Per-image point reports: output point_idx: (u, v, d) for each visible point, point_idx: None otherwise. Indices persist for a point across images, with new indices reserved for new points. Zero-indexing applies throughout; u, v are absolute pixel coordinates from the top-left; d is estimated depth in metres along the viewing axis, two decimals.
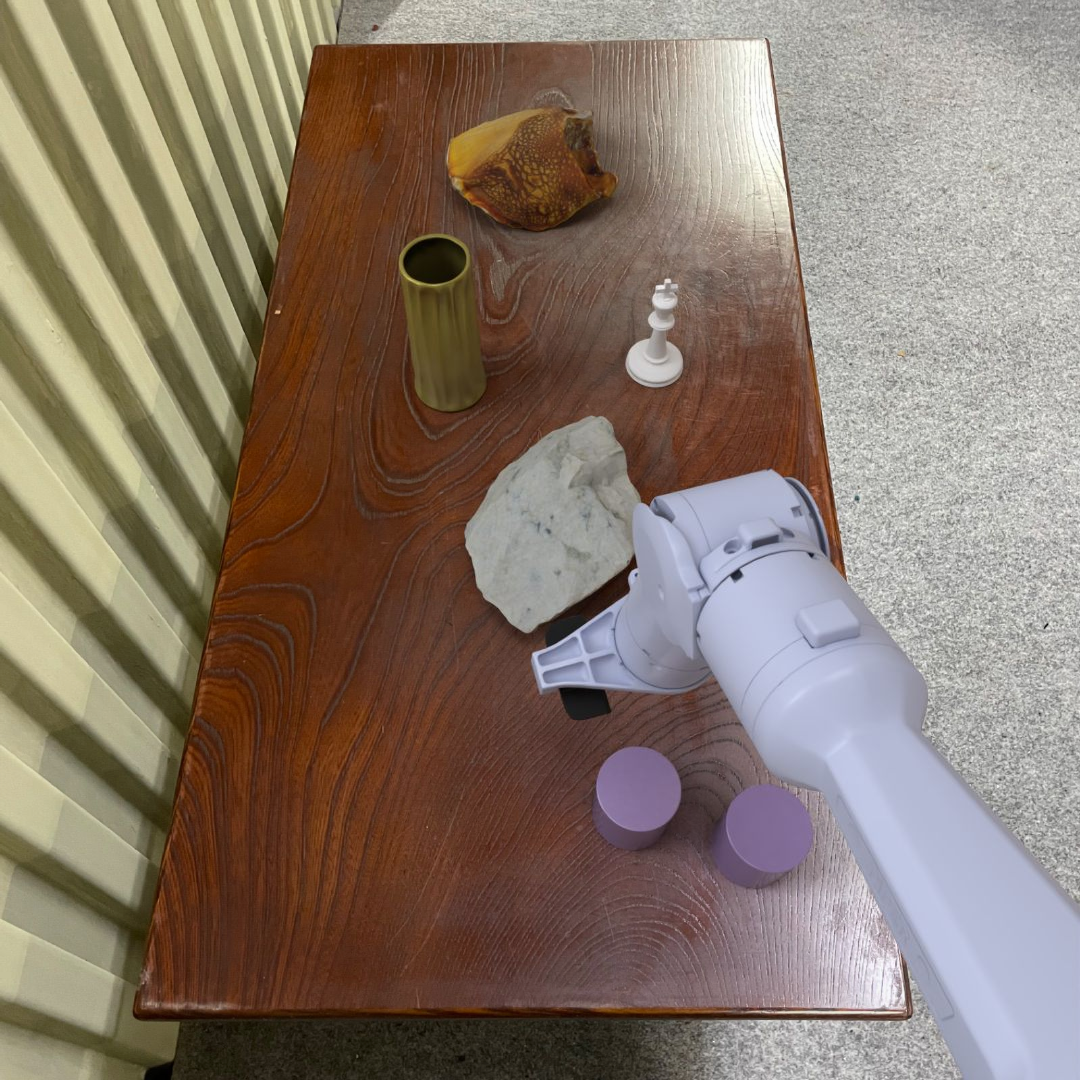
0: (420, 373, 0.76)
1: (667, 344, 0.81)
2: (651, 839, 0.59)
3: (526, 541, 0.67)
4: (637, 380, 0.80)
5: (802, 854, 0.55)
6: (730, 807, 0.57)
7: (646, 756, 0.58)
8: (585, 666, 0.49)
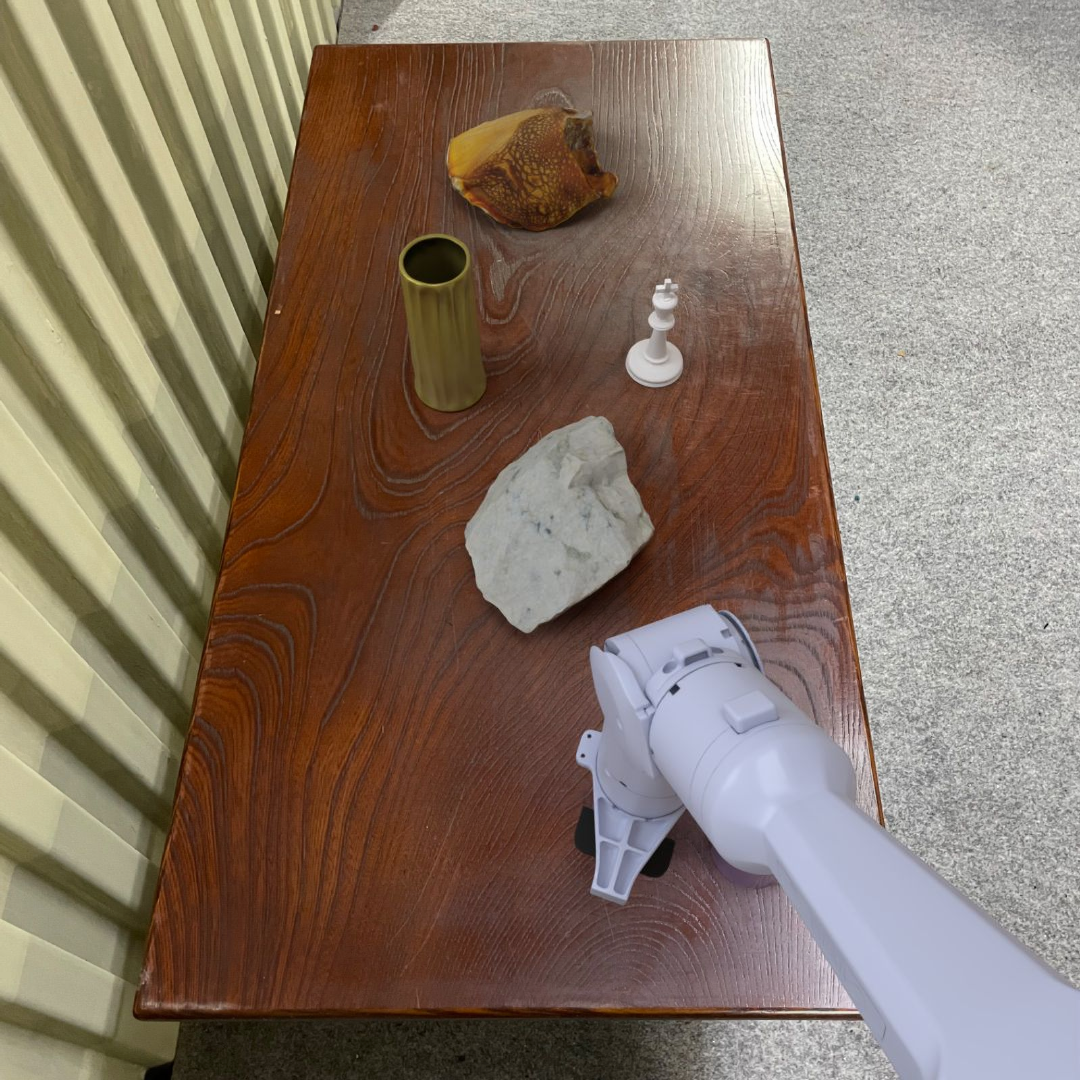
0: (420, 373, 0.76)
1: (667, 344, 0.81)
2: None
3: (526, 541, 0.67)
4: (637, 380, 0.80)
5: None
6: None
7: None
8: (630, 851, 0.51)
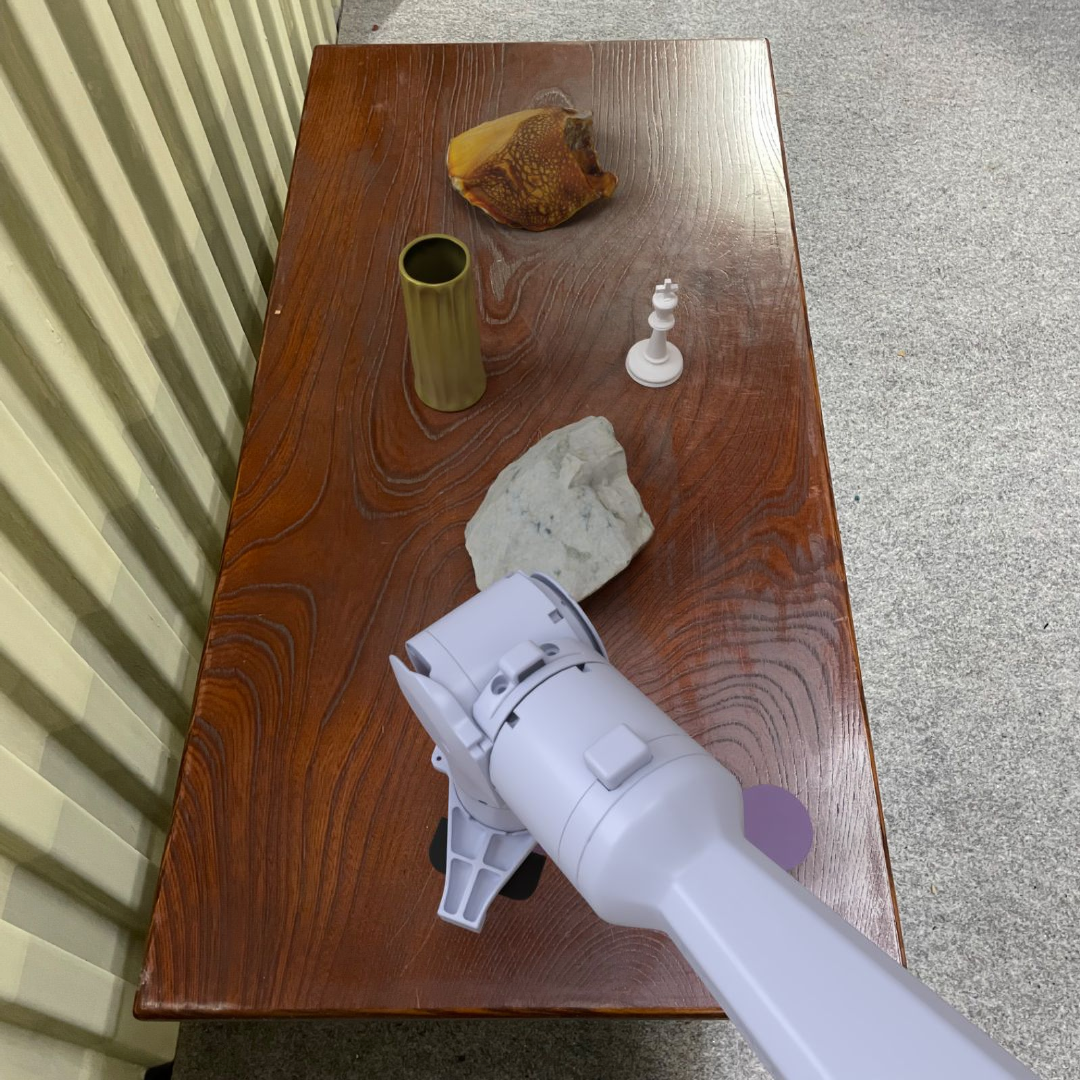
0: (420, 373, 0.76)
1: (667, 344, 0.81)
2: None
3: (526, 541, 0.67)
4: (637, 380, 0.80)
5: (802, 854, 0.55)
6: None
7: None
8: (485, 870, 0.44)
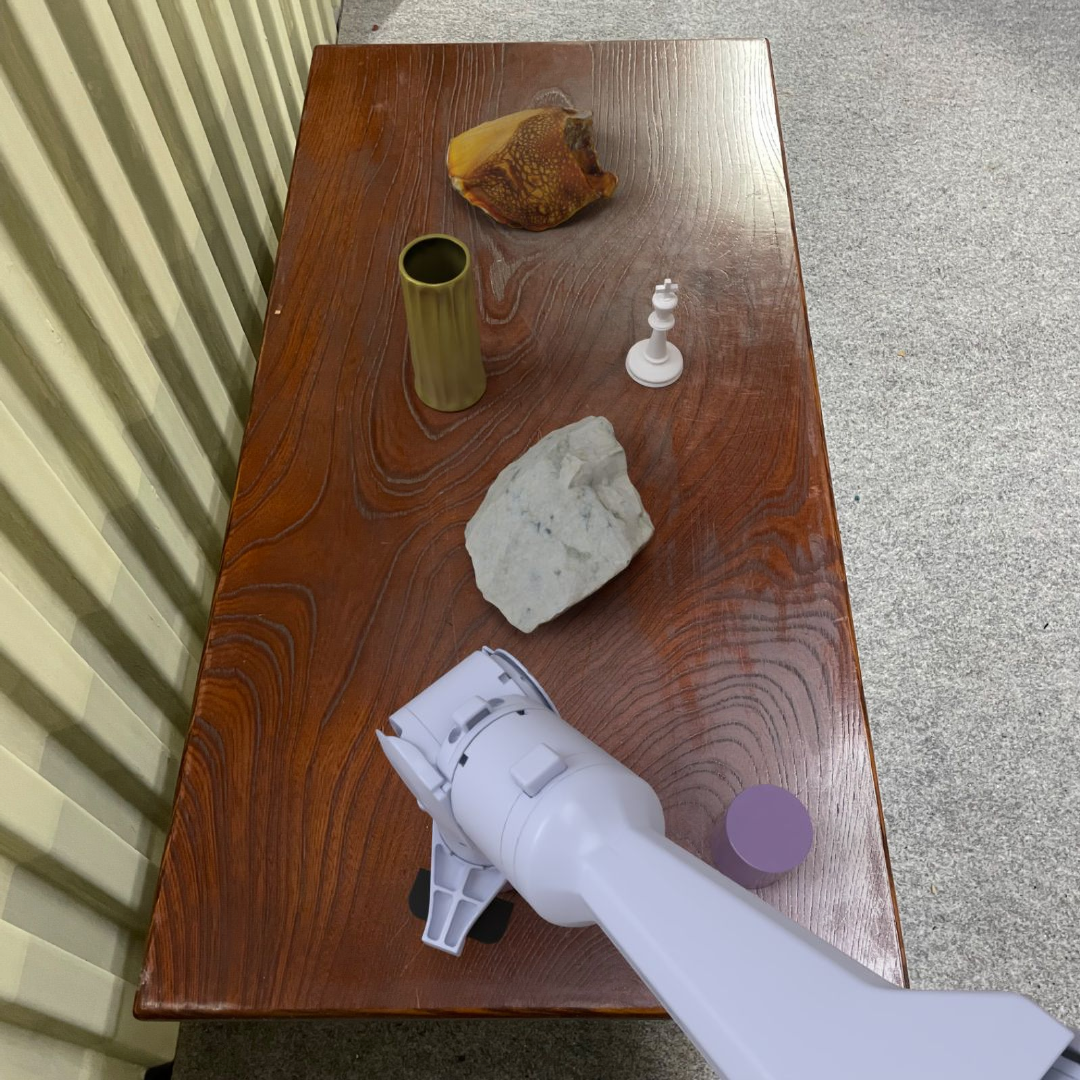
0: (420, 373, 0.76)
1: (667, 344, 0.81)
2: (509, 883, 0.58)
3: (526, 541, 0.67)
4: (637, 380, 0.80)
5: (802, 854, 0.55)
6: (730, 807, 0.57)
7: None
8: (464, 901, 0.49)
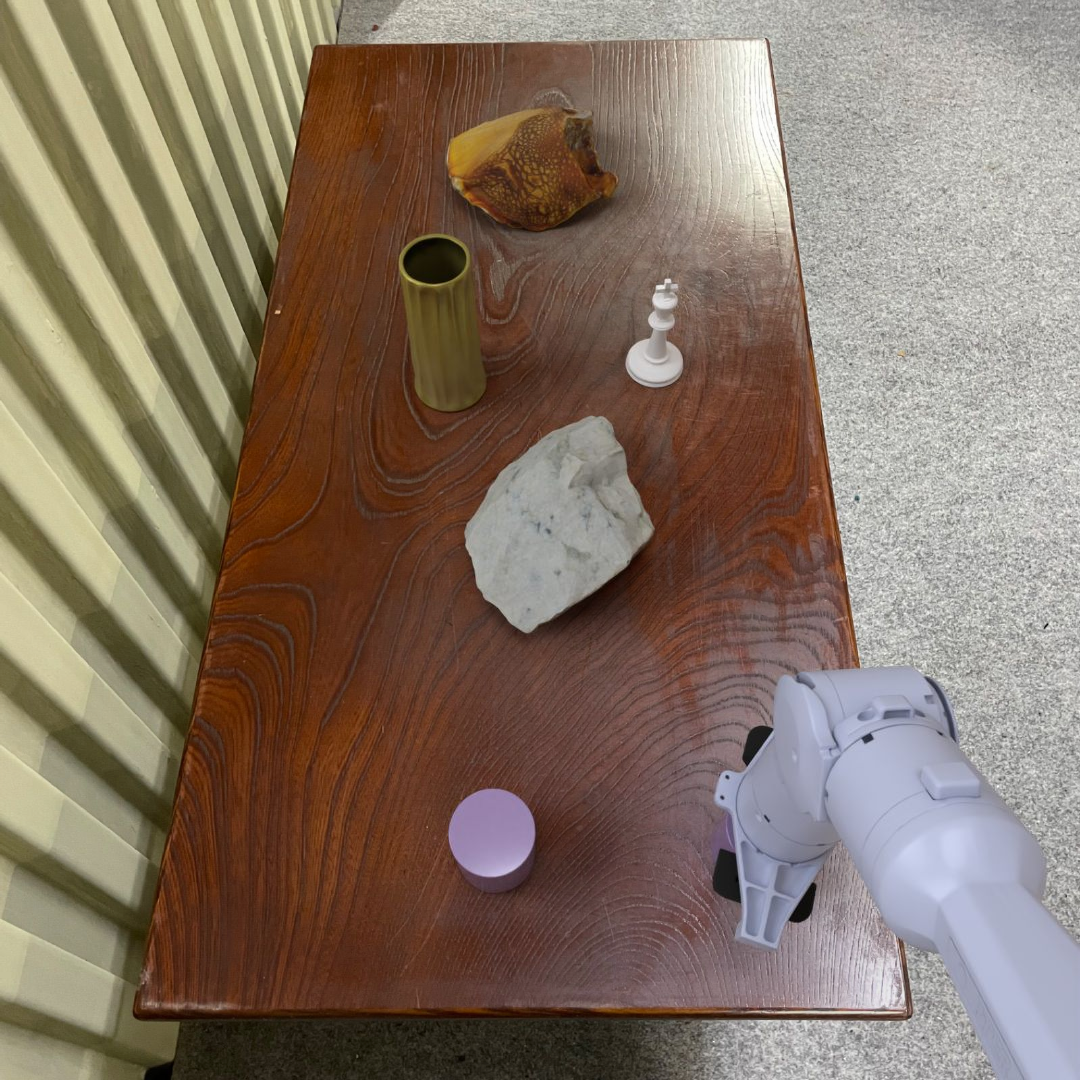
0: (420, 373, 0.76)
1: (667, 344, 0.81)
2: (509, 883, 0.58)
3: (526, 541, 0.67)
4: (637, 380, 0.80)
5: None
6: None
7: (502, 799, 0.57)
8: (776, 897, 0.50)
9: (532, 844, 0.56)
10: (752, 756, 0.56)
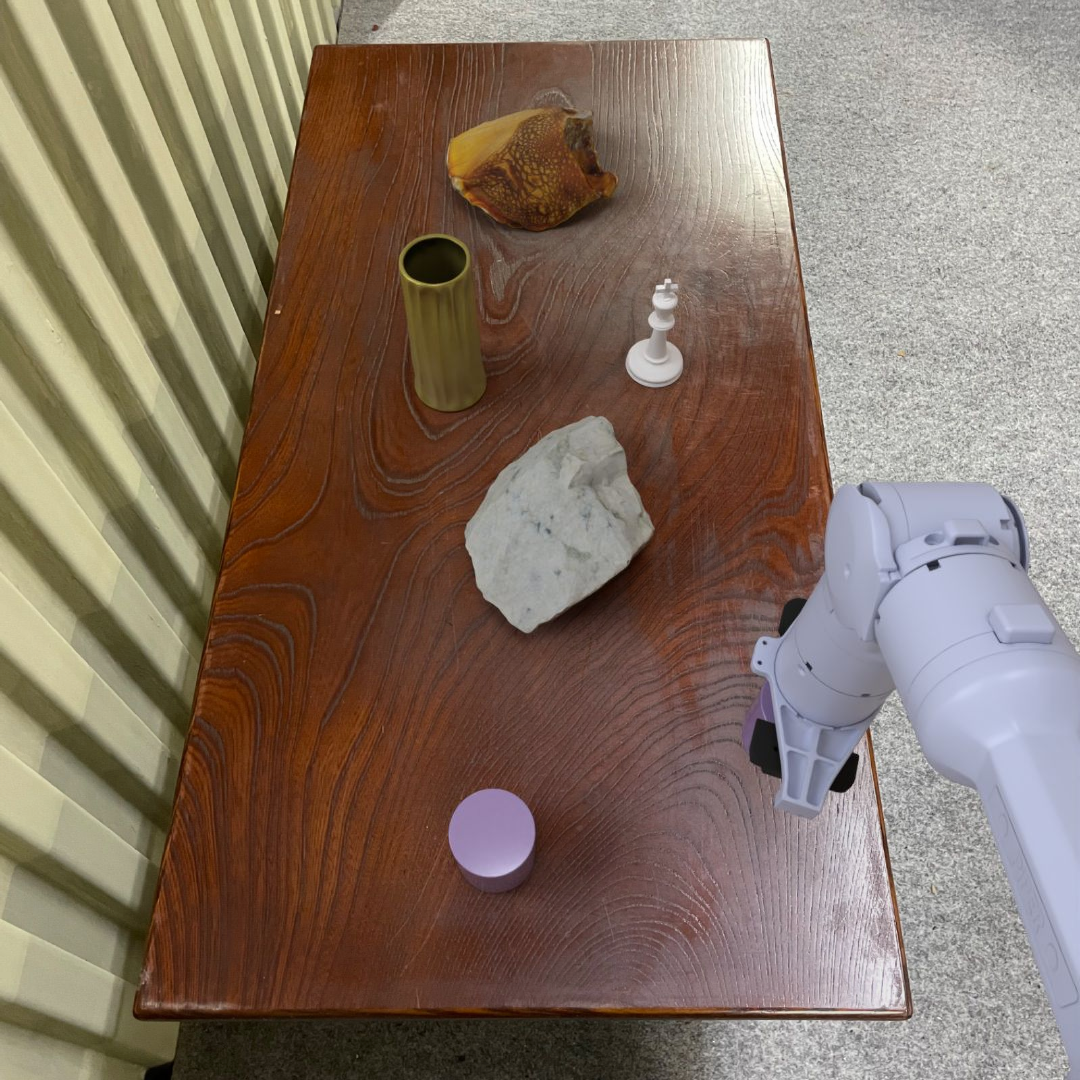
0: (420, 373, 0.76)
1: (667, 344, 0.81)
2: (509, 883, 0.58)
3: (526, 541, 0.67)
4: (637, 380, 0.80)
5: None
6: (764, 684, 0.54)
7: (502, 799, 0.57)
8: (819, 761, 0.47)
9: (532, 844, 0.56)
10: (789, 628, 0.53)
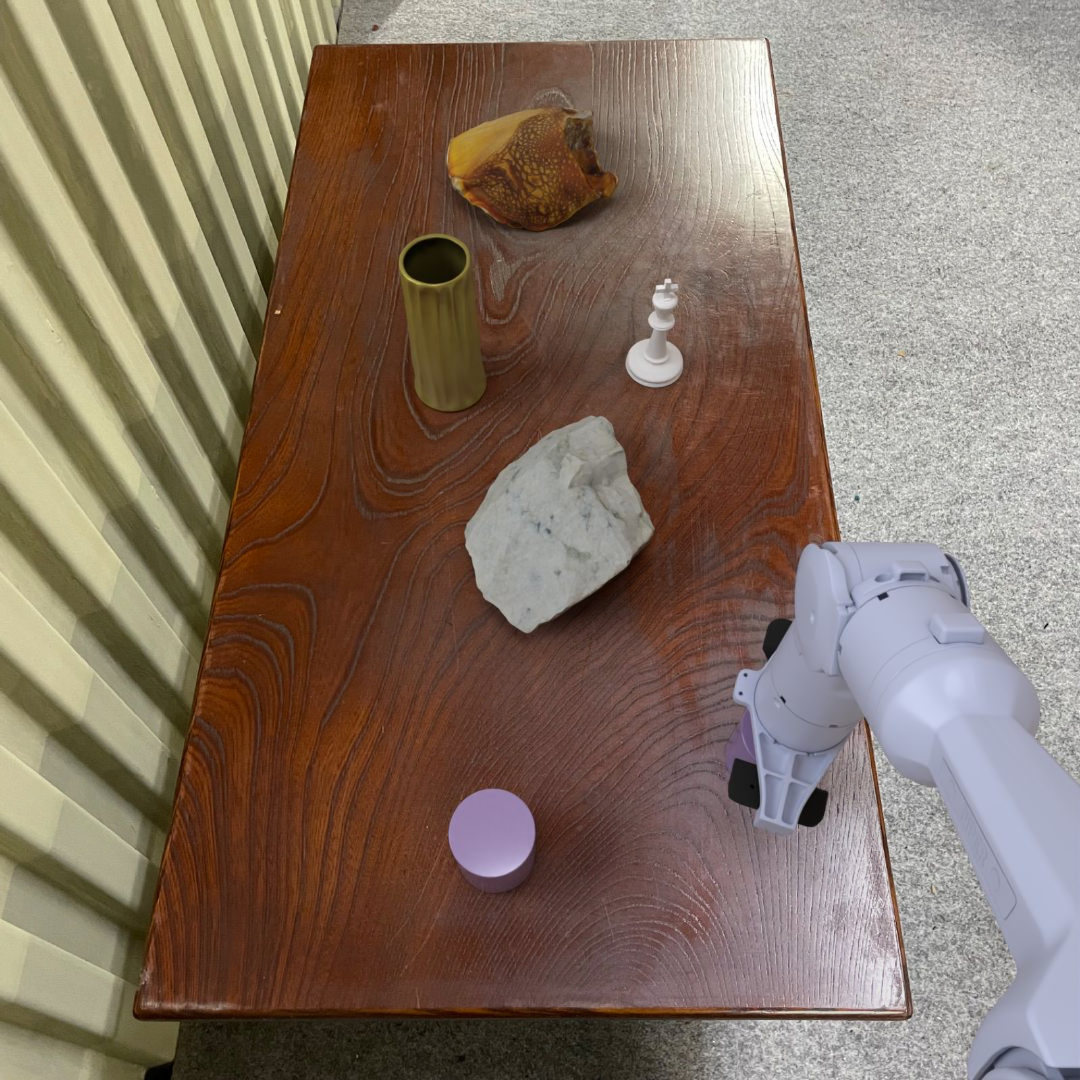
0: (420, 373, 0.76)
1: (667, 344, 0.81)
2: (509, 883, 0.58)
3: (526, 541, 0.67)
4: (637, 380, 0.80)
5: None
6: (745, 713, 0.60)
7: (502, 799, 0.57)
8: (793, 784, 0.52)
9: (532, 844, 0.56)
10: (772, 646, 0.59)
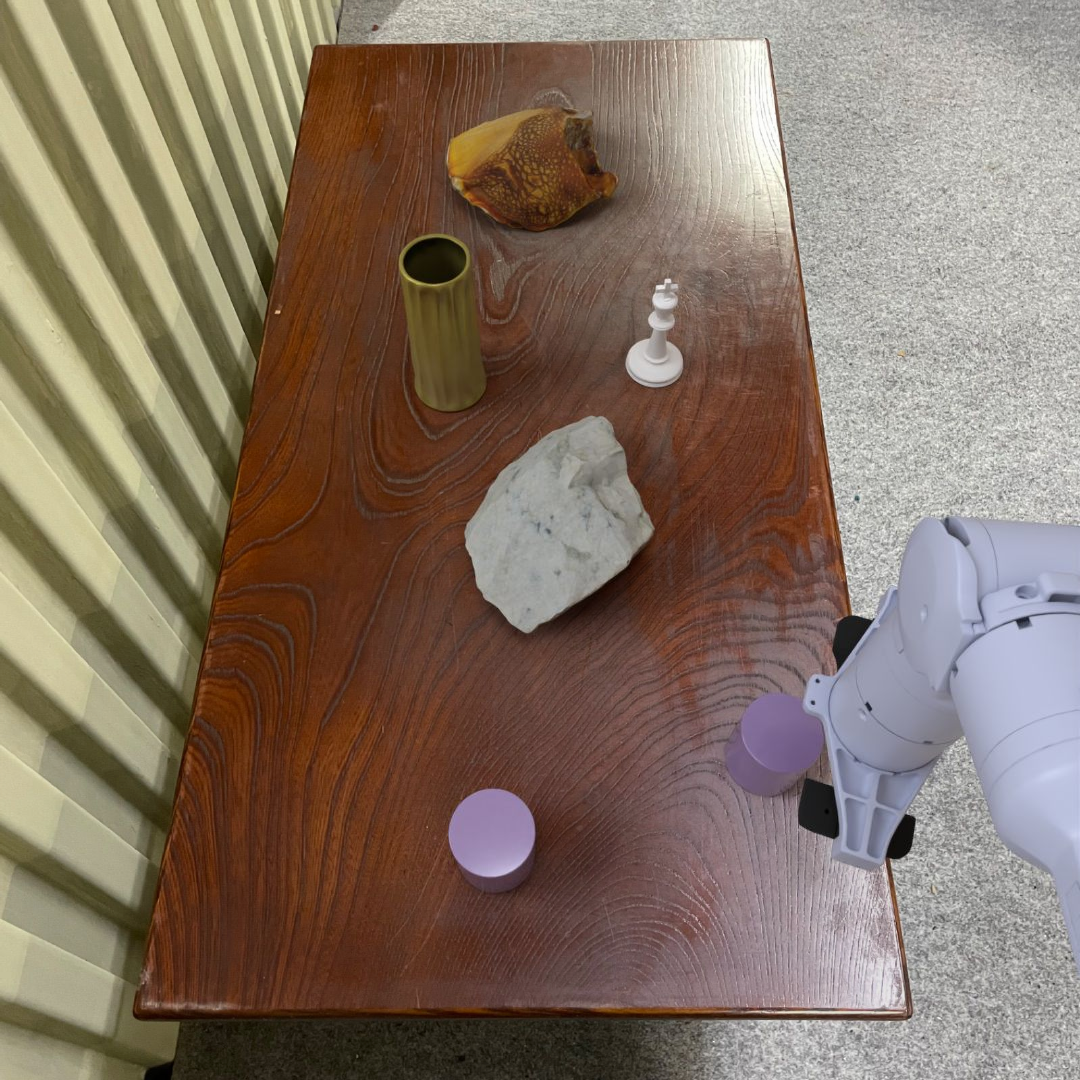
0: (420, 373, 0.76)
1: (667, 344, 0.81)
2: (509, 883, 0.58)
3: (526, 541, 0.67)
4: (637, 380, 0.80)
5: (814, 756, 0.58)
6: (745, 713, 0.60)
7: (502, 799, 0.57)
8: (879, 809, 0.44)
9: (532, 844, 0.56)
10: (843, 647, 0.51)
